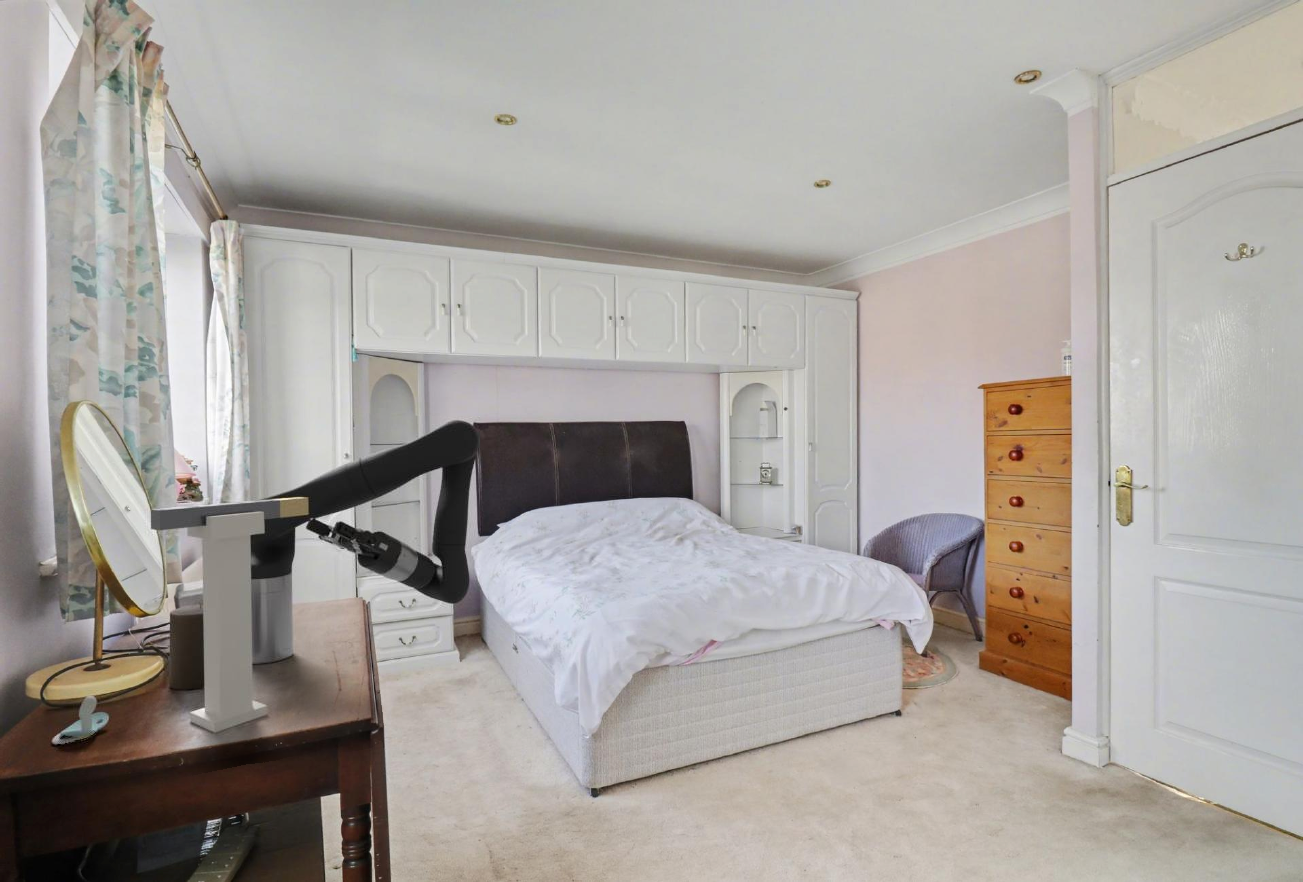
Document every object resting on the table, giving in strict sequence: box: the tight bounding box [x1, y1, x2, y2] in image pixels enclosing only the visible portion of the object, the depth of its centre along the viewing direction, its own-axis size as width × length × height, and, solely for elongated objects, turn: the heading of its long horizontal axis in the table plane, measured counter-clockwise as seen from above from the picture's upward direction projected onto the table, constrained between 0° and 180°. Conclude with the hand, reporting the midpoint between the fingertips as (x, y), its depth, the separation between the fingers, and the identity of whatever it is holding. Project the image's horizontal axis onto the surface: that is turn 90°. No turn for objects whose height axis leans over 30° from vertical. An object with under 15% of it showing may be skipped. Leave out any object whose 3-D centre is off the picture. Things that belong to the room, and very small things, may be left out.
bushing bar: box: [150, 497, 308, 531], centre depth 112 cm, size 3×23×3 cm, turn 147°
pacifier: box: [51, 694, 110, 745], centre depth 105 cm, size 7×6×6 cm
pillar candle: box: [168, 601, 205, 691], centre depth 128 cm, size 10×10×15 cm
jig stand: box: [186, 511, 268, 733], centre depth 111 cm, size 8×8×34 cm
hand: (322, 524), depth 124 cm, fingers open, 8 cm apart
